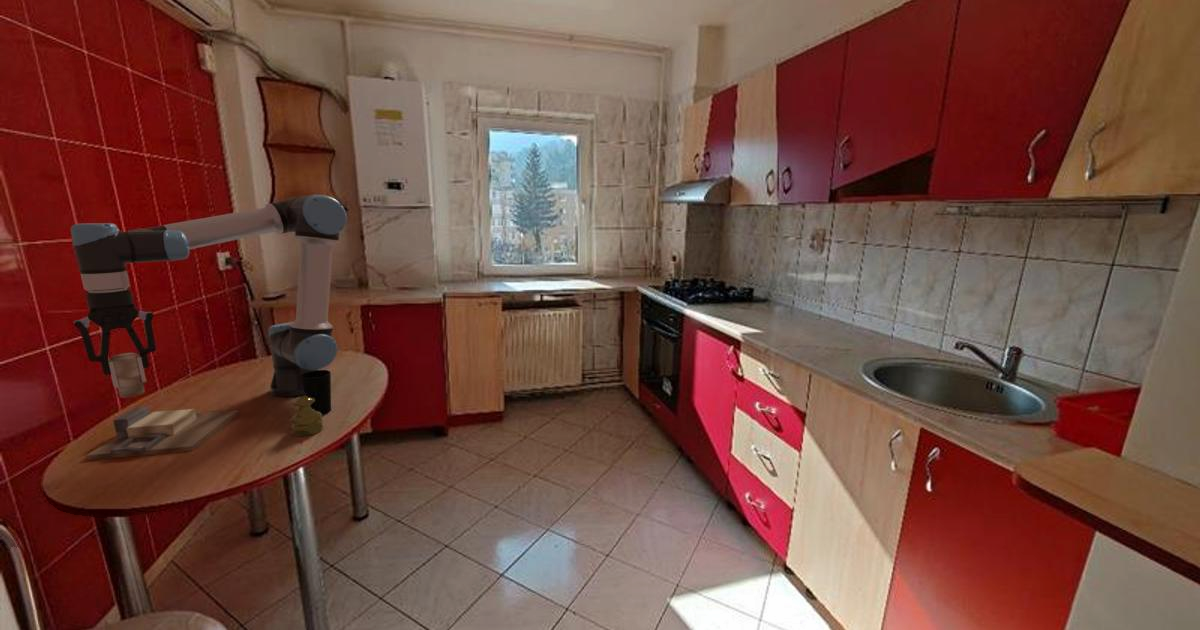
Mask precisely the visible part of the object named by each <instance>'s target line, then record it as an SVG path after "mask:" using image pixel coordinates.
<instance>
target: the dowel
mask: <svg viewBox="0 0 1200 630" xmlns="http://www.w3.org/2000/svg"><path fill="white" fill-rule="evenodd" d="M137 355H138V354H137V353H136V352H126V353H125V352H124V353H119V354H116V355H112V356H111V357H110V359H111V361H113V363H114V367H115V372H116V376H117V380H118V384H119V387H118V388H117V390H118V394H119V397H120V398H123V399H125V398H132V397H133V398H134V397H137V396H141V395H143V394H145V392H146V391H145V387H144V382H143V383H142V380H141V375H140V371H139V366H138V362H137V358H136V357H137Z"/></svg>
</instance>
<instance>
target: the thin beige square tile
mask: <svg viewBox="0 0 1200 630" xmlns="http://www.w3.org/2000/svg"><path fill="white" fill-rule="evenodd" d="M196 412H197V411H196V409H195V408H191V409H190V408H188V409H176V410H174V409H173V410H163V411H152V412H150V414H149V415H147V416H145V417H144V418H142V419H140V420H139V421H137V422H135V423H134V424H132V425H130V426H129V427H127V428H126V429H127V433H128V438H131V437H132V436H142V435H154V434H167V435H175V434H176V433H177V432H179V431H180V430H182V429H183V428H184V427H186V426H187V425H189V424H190V423H192V422H193V421H194V420H196V419H197V417H196V414H197V413H196Z"/></svg>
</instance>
